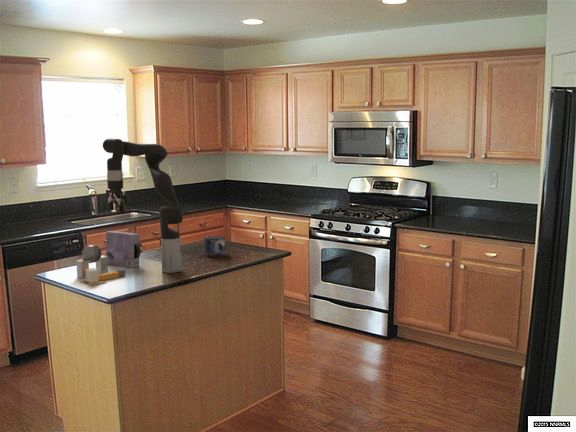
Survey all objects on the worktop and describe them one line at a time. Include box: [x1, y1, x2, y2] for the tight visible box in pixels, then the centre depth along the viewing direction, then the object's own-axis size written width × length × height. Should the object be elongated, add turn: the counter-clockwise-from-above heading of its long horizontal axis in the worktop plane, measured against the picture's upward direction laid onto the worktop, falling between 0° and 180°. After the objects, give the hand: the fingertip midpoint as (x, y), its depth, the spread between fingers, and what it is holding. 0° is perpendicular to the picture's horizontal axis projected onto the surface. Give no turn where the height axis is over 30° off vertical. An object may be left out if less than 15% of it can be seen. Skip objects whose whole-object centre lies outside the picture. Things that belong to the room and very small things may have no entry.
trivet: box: [80, 279, 107, 287], centre depth 277 cm, size 10×7×1 cm
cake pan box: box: [105, 230, 142, 269], centre depth 307 cm, size 19×5×18 cm, turn 68°
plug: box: [85, 267, 126, 283], centre depth 282 cm, size 19×4×6 cm, turn 139°
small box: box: [204, 235, 226, 258], centre depth 330 cm, size 11×6×10 cm, turn 114°
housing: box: [76, 244, 109, 280], centre depth 288 cm, size 4×14×15 cm, turn 139°
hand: (116, 211), depth 295 cm, fingers open, 8 cm apart
